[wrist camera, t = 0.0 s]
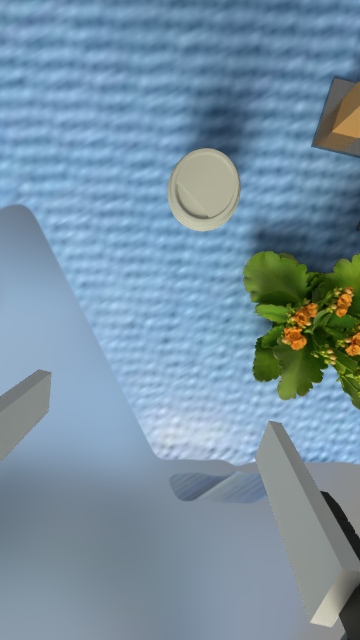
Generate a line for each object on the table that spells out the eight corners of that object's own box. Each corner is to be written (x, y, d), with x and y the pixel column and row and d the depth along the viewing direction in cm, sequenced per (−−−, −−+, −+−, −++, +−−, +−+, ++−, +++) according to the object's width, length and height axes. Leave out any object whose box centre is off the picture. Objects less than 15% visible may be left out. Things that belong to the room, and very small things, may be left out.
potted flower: (391, 230, 36) (574, 201, 19) (382, 366, 41) (516, 438, 24) (233, 255, 38) (268, 249, 21) (244, 381, 43) (280, 458, 26)
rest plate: (331, 81, 31) (334, 77, 31) (387, 94, 31) (391, 91, 31) (311, 146, 33) (313, 144, 33) (363, 158, 33) (366, 156, 33)
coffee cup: (167, 190, 36) (157, 154, 24) (221, 175, 35) (236, 130, 23) (180, 245, 38) (176, 237, 26) (231, 232, 37) (250, 217, 25)
